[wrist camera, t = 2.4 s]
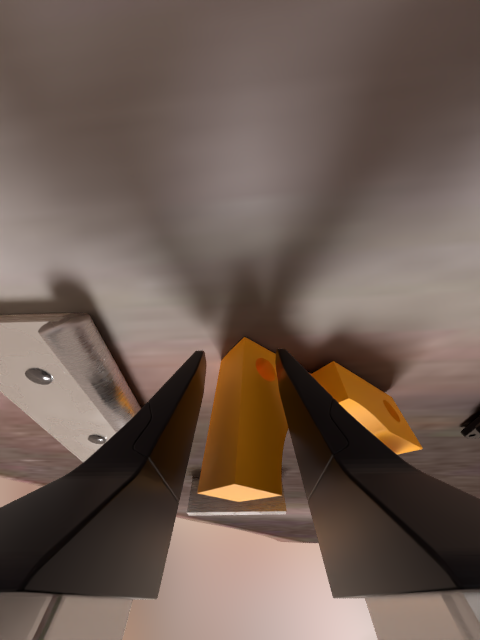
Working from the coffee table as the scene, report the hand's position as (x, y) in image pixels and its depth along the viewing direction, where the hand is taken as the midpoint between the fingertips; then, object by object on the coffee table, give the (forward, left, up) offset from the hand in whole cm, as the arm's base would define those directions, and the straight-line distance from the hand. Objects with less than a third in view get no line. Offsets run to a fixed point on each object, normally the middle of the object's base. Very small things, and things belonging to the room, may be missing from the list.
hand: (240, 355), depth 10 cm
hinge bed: (+9, +10, -2) cm, 13 cm away
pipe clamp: (-5, +4, -2) cm, 6 cm away
